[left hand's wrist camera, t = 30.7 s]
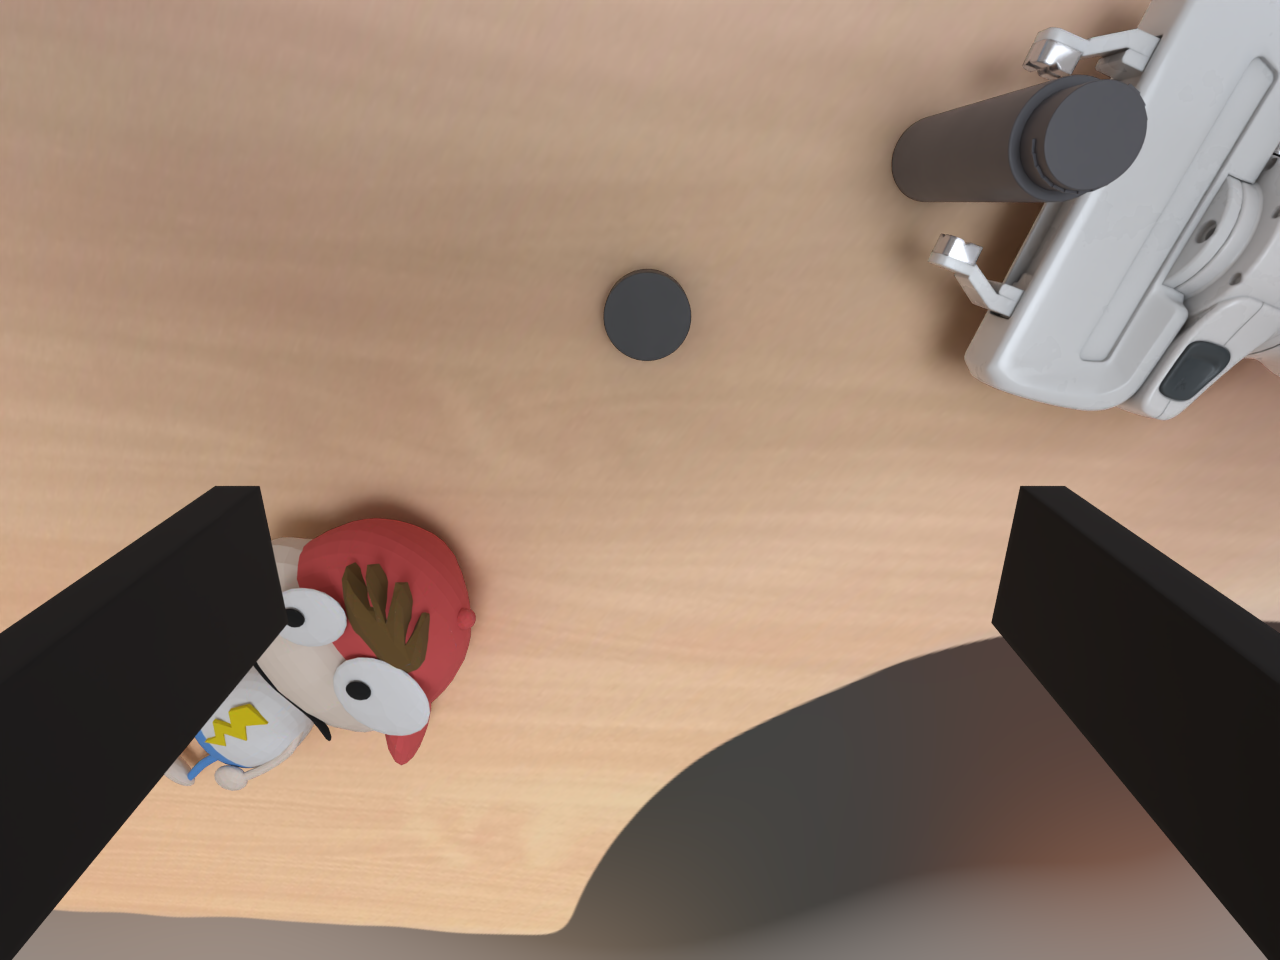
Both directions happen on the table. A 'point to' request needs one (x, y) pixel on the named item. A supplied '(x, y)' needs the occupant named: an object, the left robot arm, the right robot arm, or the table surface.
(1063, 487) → the left robot arm
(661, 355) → the lid
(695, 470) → the table surface
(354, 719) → the toy
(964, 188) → the dark grey bottle
